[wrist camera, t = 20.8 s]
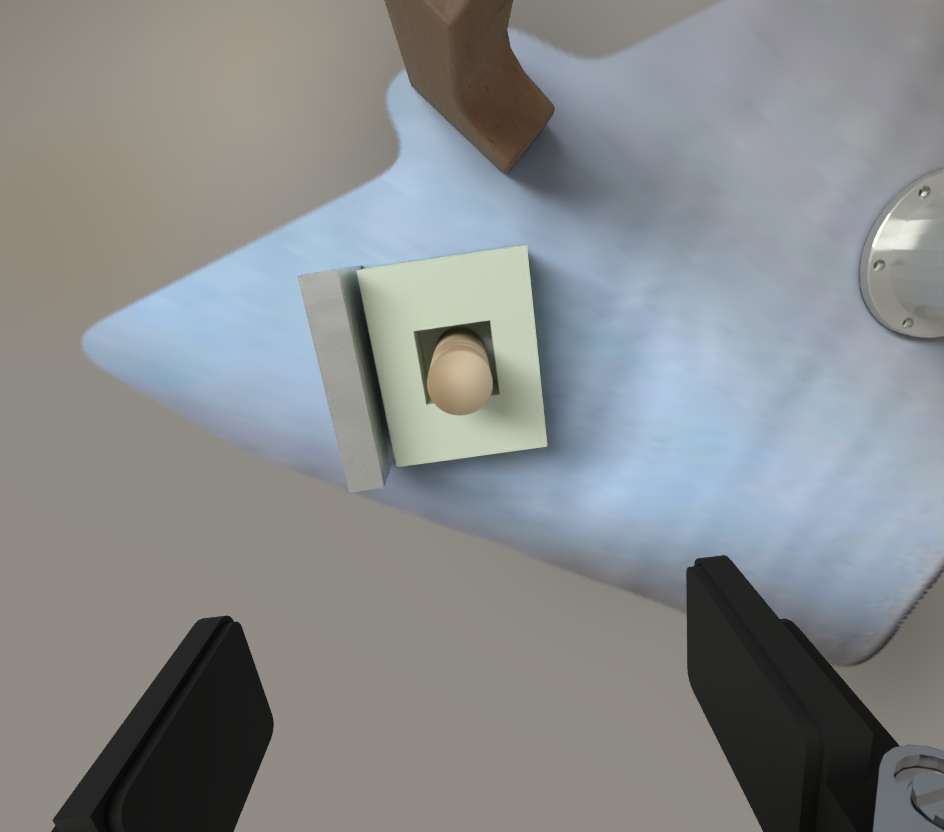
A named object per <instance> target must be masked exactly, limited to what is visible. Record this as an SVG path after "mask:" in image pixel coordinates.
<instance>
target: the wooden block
mask: <svg viewBox="0 0 944 832" xmlns="http://www.w3.org/2000/svg"><path fill="white" fill-rule="evenodd" d="M384 1H385V4H386V7H387V10H388V13H389V17H390V20H391V23H392V26H393V30H394V33H395V36H396V39H397V42H398V45H399V49H400V51H401V55H402V58H403V61H404V65H405V68H406V71H407V74H408V77H409V81H410V83H411V85H412V87H413V88H414V89H415V90H417V91H418V92H419V93H420V94H421V95H422V96H423V97H424V98H425V99H426V100H427V101H428V102H429V103H430V104H431V105H432V106H433V107H434V108H435V109H436V110H437V111H438V112H439V113H440V114H442V115H443V116H444V117H445V118H446V119H447V120H448V121H449V122H450V123H451V124H452V125H453V126H454V127H455V128H456V129H457V130H458V131H459V132H460V133H461V134H462V135H463V136H465V137H466V138H467V139H468V140H469V141H470V142H471V143H472V144H473V145H474V146H475V147H476V148H477V149H478V150H479V151H480V152H481V153H482V154H483V155H484V156H485V157H486V158H487V159H489V160H490V161H491V162H492V163H493V164H494V165H495V166H496V167H497V168H498V169H499V170H500V171H501V172H504V173H506V172H508V171H509V170H510V169H511V168H512V167H513V165H514V164H515V163H516V162H517V160H518V159H519V158H520V157H521V155H522V154H523V153H524V152H525V150H526V149H527V148H528V147H529V145H530V144H531V143H532V142H533V140H534V139H535V138H536V137H537V135H538V134H539V133H540V132H541V130H542V129H543V128H544V127H545V125H546V124H547V122H548V121H549V119H550V118H551V117H552V115H553V113H554V110H555V108H554V106H553V104H552V103H551V102H550V100H549V99H548V98H547V97H546V96H545V95H544V94H543V92H542V91H541V90H540V89H539V88H538V87H537V86H536V85H535V83H534V82H533V81H532V80H531V79H530V78H529V77H528V75H527V74H526V73H525V72H524V70H523V69H522V67H521V65H520V63H519V62H518V60H517V58H516V56H515V55H514V53H513V51H512V49H511V48H510V42H509V37H508V32H507V27H508V22H509V17H510V13H511V8H512V3H513V0H384Z"/></svg>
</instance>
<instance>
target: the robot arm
mask: <svg viewBox="0 0 944 832" xmlns="http://www.w3.org/2000/svg"><path fill="white" fill-rule="evenodd" d="M860 286H861V290H862V294H863V298H864V301H865V303H866V304H867V306H868V308H869V310H870V312H871V313H872V314H873V315H874V317H875V318H876V319H877V320H878V321H879V322H880V323H882V324H883V325H884V326H886V327H887V328H889V329H890V330H893V331H896V332H898V333H901V334H904V335H910V336H914V337H923V338H936V337H943V336H944V168H942V169H939V170H937V171H934V172H931V173H929V174H927V175H925V176H923V177H921V178H920V179H918V180H916V181H914V182H913V183H911V184H910V185H909V186H908V187H906V188H905V189H904V190H902V191H901V192H900V193H899V194H898V195H897V196H896V197H895V198H894V199H893V200H892V201H891V202H890V203H889V204H888V205H887V206H886V207H885V209H884V210H883V212H882V213H881V215H880V216H879V217H878V219H877V220H876V222H875V223H874V225H873V227H872V229H871V231H870V233H869V235H868V237H867V240H866V243H865V246H864V249H863V253H862V257H861V265H860ZM686 579H687V665H688V666H687V667H688V668H687V669H688V676H689V681H690V684H691V687H692V689H693V692H694V694H695V696H696V698H697V700H698V702H699V704H700V706H701V708H702V710H703V712H704V714H705V716H706V718H707V720H708V722H709V724H710V726H711V728H712V730H713V732H714V734H715V736H716V738H717V740H718V742H719V744H720V746H721V748H722V750H723V752H724V754H725V756H726V758H727V760H728V762H729V764H730V766H731V768H732V770H733V772H734V774H735V776H736V778H737V780H738V782H739V784H740V786H741V788H742V790H743V792H744V794H745V796H746V798H747V800H748V802H749V804H750V806H751V808H752V810H753V812H754V814H755V816H756V818H757V820H758V822H759V824H760V826H761V828H762V830H763V832H944V751H942V750H938V749H935V748H932V747H929V746H920V745H904V746H899V745H898V743H897V742H896V741H895V740H894V739H893V738H892V736H891V735H890V734H889V733H888V732H887V731H886V729H885V728H884V727H883V726H882V725H881V724H880V722H879V721H878V720H877V719H876V718H875V717H874V715H873V714H872V713H871V712H870V711H869V710H868V708H867V707H866V706H865V705H864V704H863V703H862V701H861V700H860V699H859V698H858V697H857V696H856V694H855V693H854V692H853V691H852V690H851V689H850V688H849V686H848V685H847V684H846V683H845V682H844V680H843V679H842V678H841V677H840V676H839V675H838V673H837V672H836V671H835V670H834V669H833V668H832V666H831V665H830V664H829V663H828V662H827V661H826V659H825V658H824V657H823V656H822V655H821V653H820V652H819V651H818V650H817V649H816V648H815V646H814V645H813V644H812V643H811V642H810V641H809V639H808V638H807V637H806V636H805V635H804V634H803V632H802V631H801V630H800V629H799V628H798V627H797V626H796V625H795V624H794V623H793V622H792V621H790V620H788V619H779V618H778V617H777V615H776V614H775V613H774V612H773V611H772V609H771V608H770V607H769V606H768V604H767V603H766V602H765V601H764V600H763V598H762V597H761V596H760V595H759V594H758V592H757V591H756V590H755V589H754V588H753V586H752V585H751V584H750V583H749V581H748V580H747V579H746V578H745V577H744V575H743V574H742V573H741V572H740V571H739V569H738V568H737V567H736V566H735V564H734V563H733V562H732V561H731V560H730V559H729V558H728V557H727V556H725V555H722V556H714V557H706V558H698V559H696V560H695V563H694V566H693V567H688V568H687V573H686ZM273 724H274V723H273V717H272V713H271V710H270V707H269V704H268V701H267V698H266V696H265V693H264V690H263V687H262V684H261V681H260V678H259V675H258V672H257V670H256V667H255V664H254V661H253V658H252V655H251V652H250V649H249V646H248V643H247V641H246V638H245V635H244V632H243V629H242V627H241V624H240V623H239V622H234V621H233V619H232V618H231V617H230V616H220V617H211V618H203V619H201V620H198V621H197V622H196V623H195V624H194V626H193V627H192V629H191V630H190V631H189V633H188V634H187V635H186V637H185V638H184V640H183V641H182V642H181V644H180V645H179V646H178V648H177V649H176V651H175V652H174V653H173V655H172V656H171V658H170V659H169V660H168V662H167V663H166V664H165V666H164V667H163V668H162V670H161V671H160V673H159V674H158V675H157V677H156V678H155V680H154V681H153V682H152V684H151V685H150V686H149V688H148V689H147V691H146V692H145V693H144V695H143V696H142V697H141V699H140V700H139V702H138V703H137V704H136V706H135V707H134V708H133V710H132V711H131V713H130V714H129V715H128V717H127V718H126V720H125V721H124V722H123V724H122V725H121V726H120V728H119V729H118V730H117V732H116V733H115V735H114V736H113V737H112V739H111V740H110V742H109V743H108V744H107V746H106V747H105V748H104V750H103V751H102V753H101V754H100V755H99V757H98V758H97V760H96V761H95V762H94V764H93V765H92V766H91V768H90V769H89V770H88V772H87V773H86V775H85V776H84V777H83V779H82V780H81V782H80V783H79V784H78V786H77V787H76V788H75V790H74V791H73V793H72V794H71V795H70V797H69V798H68V799H67V801H66V802H65V804H64V805H63V806H62V808H61V809H60V810H59V812H58V813H57V815H56V816H55V817H54V819H53V822H54V824H55V825H56V826H55V827H54V828H53V830H52V832H233V831H234V829H235V827H236V824H237V822H238V819H239V817H240V814H241V811H242V809H243V807H244V804H245V802H246V799H247V797H248V794H249V792H250V789H251V787H252V784H253V782H254V779H255V777H256V774H257V772H258V770H259V767H260V764H261V762H262V759H263V757H264V755H265V752H266V750H267V747H268V745H269V742H270V740H271V736H272V733H273V726H274V725H273Z"/></svg>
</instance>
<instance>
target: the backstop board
mask: <svg viewBox="0 0 944 832" xmlns="http://www.w3.org/2000/svg"><path fill="white" fill-rule="evenodd" d="M361 269H362V267H361V265H359V266H352V267H346V268H339V269H332V270H326V271H321V272H315V273H309V274H304V275H298V280H299V285H300V289H301V293H302V297H303V301H304V305H305V310H306V314H307V318H308V322H309V326H310V330H311V335H312V339H313V343H314V347H315V351H316V355H317V360H318V364H319V368H320V372H321V376H322V380H323V385H324V389H325V393H326V397H327V401H328V405H329V410H330V414H331V418H332V422H333V426H334V430H335V435H336V439H337V443H338V447H339V451H340V455H341V460H342V464H343V468H344V472H345V476H346V480H347V485H348V489H349V493H350V492H358V491H365V490H372V489H379V488H384V487H385V484H386V481H387V478H388V474H389V471H390V468H391V465H392V462H393V459H394V452H393V447H392V443H391V438H390V433H389V428H388V423H387V418H386V413H385V408H384V403H383V399H382V394H381V389H380V384H379V379H378V374H377V369H376V364H375V359H374V355H373V350H372V345H371V340H370V335H369V330H368V325H367V320H366V315H365V310H364V306H363V301H362V296H361V291H360V286H359V281H358V276H357V271H356V270H361Z"/></svg>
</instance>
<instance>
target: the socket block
mask: <svg viewBox="0 0 944 832" xmlns="http://www.w3.org/2000/svg"><path fill="white" fill-rule="evenodd" d="M356 271H357V276H358V281H359V286H360V291H361V296H362V301H363V306H364V310H365V315H366V320H367V325H368V330H369V335H370V340H371V345H372V350H373V355H374V359H375V364H376V369H377V374H378V379H379V384H380V389H381V394H382V399H383V403H384V408H385V413H386V418H387V423H388V428H389V433H390V438H391V443H392V447H393V452H394V457H395V462H396V467H403V466H410V465H417V464H424V463H432V462H439V461H446V460H453V459H461V458H468V457H475V456H482V455H489V454H497V453H504V452H511V451H518V450H526V449H533V448H540V447H547V437H546V427H545V417H544V407H543V397H542V388H541V378H540V368H539V358H538V348H537V339H536V329H535V319H534V309H533V299H532V290H531V280H530V270H529V260H528V251H527V245H517V246H511V247H504V248H497V249H491V250H484V251H477V252H470V253H464V254H457V255H450V256H443V257H437V258H430V259H423V260H416V261H410V262H403V263H396V264H390V265H383V266H376V267H369V268H365V269H361V270H356ZM454 327H466V328H469V329H472V330H473V331H475V332H476V333H477V334H478V335H479V336H480V337H481V338H482V340H483V342H484V345H485V349H486V354H487V358H488V362H489V366H490V371H491V375H492V380H493V387H492V392H491V395H490V397H489V399H488V401H487V402H486V404H485V405H484V406H483V407H482V408H480V409H479V410H477V411H476V412H474V413H471V414H468V415H461V416H460V415H452V414H448V413H446V412H444V411H442V410H441V409H439V408H438V407H437V406H436V405H435V404H434V403H433V401H432V400H431V398H430V396H429V393H428V390H427V378H428V373H429V369H430V366H431V362H432V358H433V354H434V350H435V346H436V343H437V341H438V339H439V337H440V336H441V335H442V334H443V333H444V332H445V331H447V330H449V329H451V328H454Z"/></svg>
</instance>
